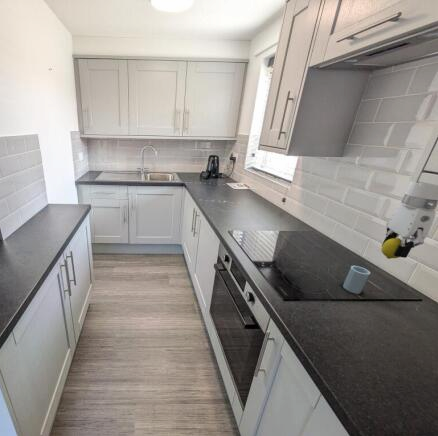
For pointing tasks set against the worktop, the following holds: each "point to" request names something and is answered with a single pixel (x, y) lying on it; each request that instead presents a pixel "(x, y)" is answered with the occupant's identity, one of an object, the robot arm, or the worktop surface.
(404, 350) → the worktop surface
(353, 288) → the cup
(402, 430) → the worktop surface
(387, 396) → the worktop surface
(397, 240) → the lemon
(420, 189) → the robot arm
